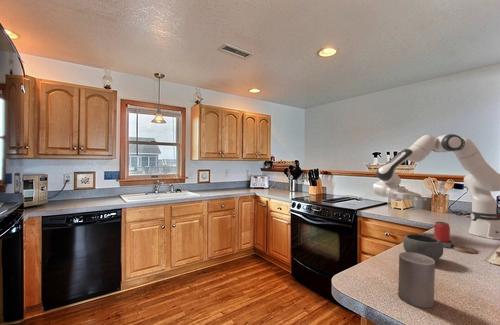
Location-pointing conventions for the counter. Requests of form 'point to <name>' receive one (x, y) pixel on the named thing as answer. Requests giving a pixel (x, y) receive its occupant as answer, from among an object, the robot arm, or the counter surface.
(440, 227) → the beer can
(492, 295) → the counter surface
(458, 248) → the walnut coaster
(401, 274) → the pillar candle
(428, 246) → the bowl
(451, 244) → the can collar
